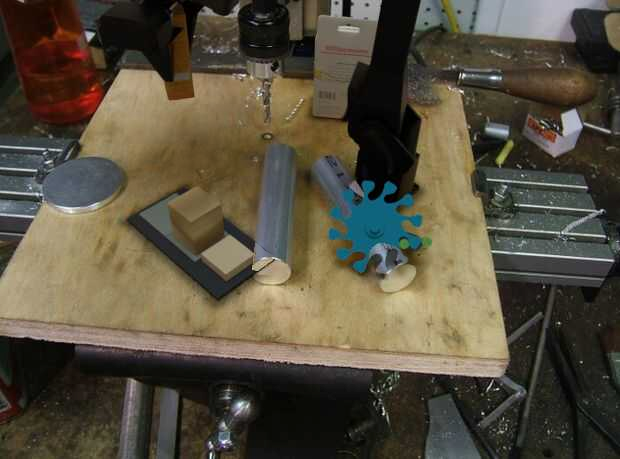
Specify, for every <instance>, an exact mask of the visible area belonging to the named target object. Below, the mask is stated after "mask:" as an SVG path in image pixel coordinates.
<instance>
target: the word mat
mask: <svg viewBox="0 0 620 459" xmlns="http://www.w3.org/2000/svg"><path fill="white" fill-rule="evenodd" d="M189 190H190V189H188V188H186V187H185V186H181V187H180V188H179V189H176V190H175V191H173V192H172V193H169V194H168V195H165V196H164V197H162V198H161V199H159V200H157V201H156V202H153V203H151V204H150V205H148V206H146V207H144V208H142V209H141V210H139V211H138V212H135V213H134V214H132V215H130V216H128V217H126V221H127V222H128V223H129V224H130V225H131V226H132V227H134V228H135V230H137V231H138V232H139V233H140V234H141V235H142V236H144V237H145V238H146V239H147V240H148V241H150V243H152V244H153V245H154V246H155V247H156V248H157V249H159V251H161V252H162V253H163V254H164V255H166V256H167V257H168V258H169V259H170V260H171V261H172V262H173V263H175V264H176V265H177V266H178V267H179V268H180V269H181V270H183V272H185V273H186V274H187V275H188V276H189V277H190V278H191V279H193V280H194V281H195V282H196V283H197V284H198V285H200V286H201V287H202V288H203V289H204V290H205V291H206V292H208V293H209V294H210V295H211V296H212V297H213V298H214V299H216V300H217V301H219V300H221V299H222V298H223V297H225V296H226V295H228V294H229V293H230V292H232V291H233V290H235V289H237V287H239V286H241V285H242V284H243V283H245V282H246V281H247V280H249V279H250V278H252V277H253V276H254V275H256V274H257V273H259V271H255V270H252V265H253V256H254V247H255V242H256V240H254V239H253V238H252V237H250V236H249V235H248V234H246V233H245V232H243V231H242V230H241V229H240V228H238V227H237V226H236V225H234V224H233V223H232V222H231V221H229V220H228V219H227V218H226V217H224V216H223V225H224V235H225V237H224V238H222V239H221V240H219V241H218V242H216V243H215V244H213V245H211V246H210V247H208V248H207V249H205V250H204V251H202V252H201V253H199V254H198V255H195V254H194V253H193V252H191V251H190V250H189V249H188V248H187V247H185V246H184V245H183V244H182V243H181V242H180V241H178V240H177V239H176V238H175V237H174V236H173V231H172V226H171V221H170V216H169V211H168V205H167V203H168V202H170V201H172V200H173V199H175V198H177V197H179V196H180V195H182V194H184V193H186V192H187V191H189Z"/></svg>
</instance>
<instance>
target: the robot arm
mask: <svg viewBox="0 0 620 459" xmlns="http://www.w3.org/2000/svg"><path fill="white" fill-rule="evenodd" d="M239 3H240V0H140V1H139V2H138V3H137V2H132V1H131V2H129V1H123V0H118V1H117V2H116V3H115V4H113V5H112V6H111V7H109V8H108V9H107V10H106V11H105V12H103V13H102V14H101V15H100V16H99V18H98V19H97V20H96V21H95V23H94V25H95V29H96V33H97V36H98V37H97V38H98V40H99V43H100V44H101V46H105V47H111V48H119V49H124V50H132V51H137V52H141V54H142V55H143V56H144V58H145V59H146V60H147V62H148V63H149V64H150V65H151V66H152V68H153V70H154V71H156V73H157V74H158V75H159V78H161V79H162V81H163V82H164V81H165V82H173V81H174V44H173V41H174V40H175V39H176V37H177V36H178V35H179V34H180V33H181V32H182V31H183V30H184V28H183V27H176V26H173V20H172V16H173V11H172V9H173V8H174V7H175V6H176V5H177V4H181V5H182V6H183V9H184V12H185V16H186V27H187V35H188V43H189V52H190V58H192V57H191V56H192V52H193V51H192V49H193V44H194V37H195V30H196V26H197V20H198V16H199V13H200V12H201V11H202V10H203V9H204V8H207V9H210V10H211V11H212V13H214V14H216V15H217V16H221V17H228V16H230V15H231V13H232V11H233V10H234V9H235V8H236V6H237V5H239ZM421 3H422V0H381V2H380V8H379V14H378V19H377V20H378V24H377V29H376V35H375V40H374V45H373V51H372V56H371V62H370V64H369V65H368V64H365V63H362V62H360V61H358V62H357V65H356V67H355V70H354V73H353V75H352V78H351V81H350V83H349V86H348V90H347V107H346V110H345V113H344V115H343V118H342V119H341V122H342V123H346V122H347V125H346V128H347V134H348V137H349V138H350V139H351V140H352V142H354V143H355V144H356V145H357V146H358V148H359V149H358V150H357V154H356V155H357V157H356V163H355V170H354V177H355V178H356V179H355V180H356V181H357V183H358V184H359V186H360V187H361V189H362V190H363V188H362V183H363V181H372V182H374V185H375V186H374V189H373V190H372V191H371V192H370V193H369V194H368V199H369V200H371V201H374V200H376V199H377V198H378V197H379V196H380V195H381V194H382V192H383V190H384V185H385V184H386V182H388V181H389V182H391V183H392V184H394V185H395V186H396V187H397V189H396V191H395V192H394V193H393V194H388V195H386V196H385V197H384V201H385V202H386V203H387V204H390V203H395V202H398V201H400V200H401V199H402V198H403V197H404V196H405V195H406V194H410V195H411V196H412V197H413V195H415V194H416V193H418V192H419V191H420V184H418V183H416V182H415V181H416V176H417V171H418V166H419V163H420V158H421V154H420V153H418V152H417V149H418V144H419V139H420V133H421V127H422V122H423V119H422V117H421V116H420V115H419V114H418V112H417V111H416V110H415V108H414V107H413V106H412V105H411V104H410V102H409V101H408V96H409V54H410V49H411V45H412V41H413V37H414V33H415V29H416V24H417V20H418V16H419V12H420V8H421ZM363 192H364V190H363ZM398 207H399V206H397V208H398Z"/></svg>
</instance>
